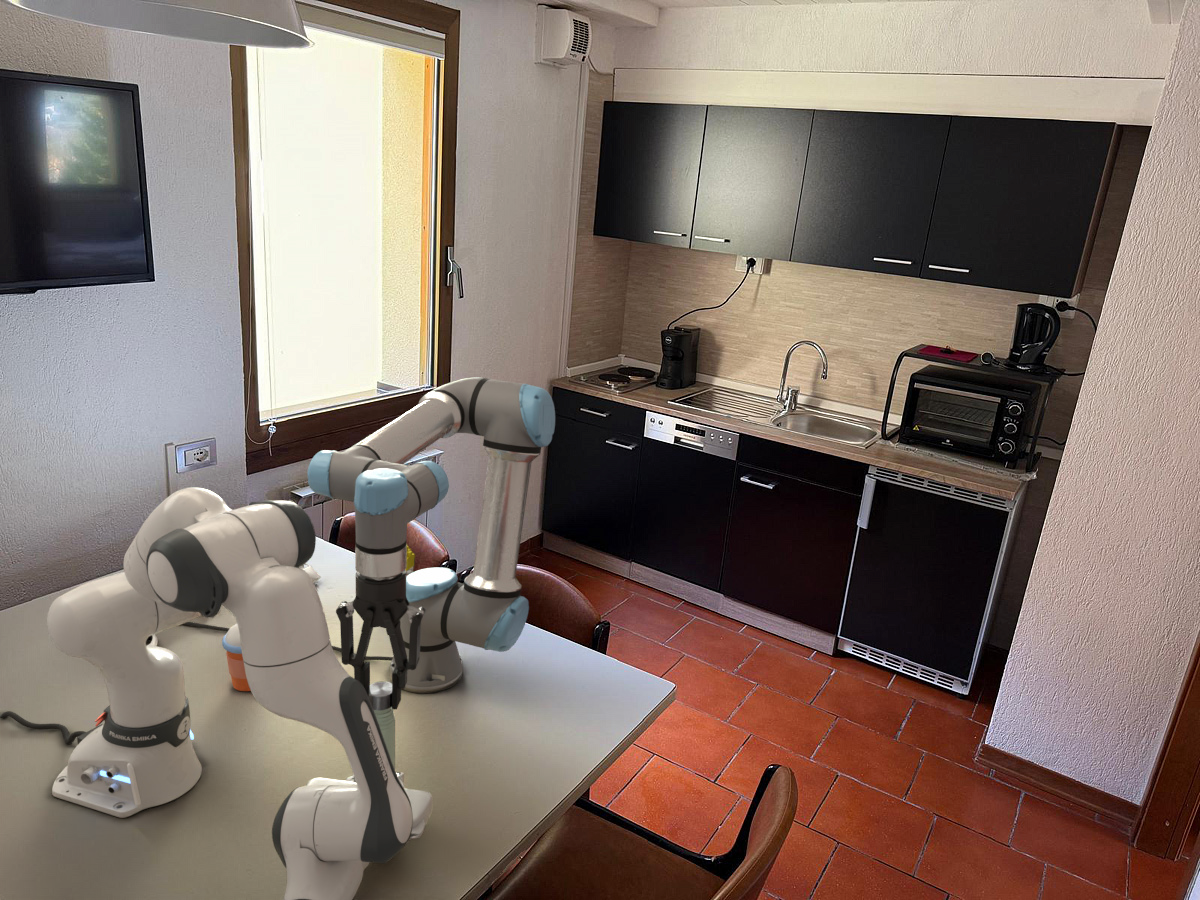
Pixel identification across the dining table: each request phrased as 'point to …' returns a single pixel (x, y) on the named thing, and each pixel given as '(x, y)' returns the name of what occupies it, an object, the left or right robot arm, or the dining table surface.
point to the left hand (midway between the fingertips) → (382, 773)
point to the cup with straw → (235, 659)
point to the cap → (380, 695)
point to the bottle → (387, 730)
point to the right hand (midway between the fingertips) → (380, 702)
